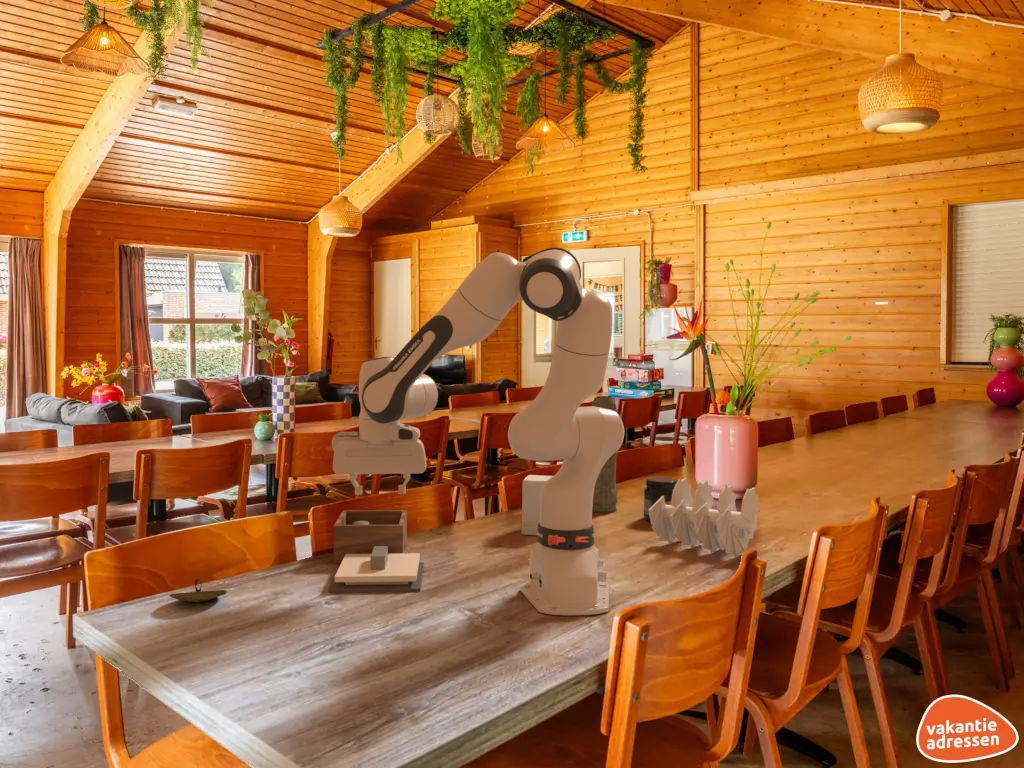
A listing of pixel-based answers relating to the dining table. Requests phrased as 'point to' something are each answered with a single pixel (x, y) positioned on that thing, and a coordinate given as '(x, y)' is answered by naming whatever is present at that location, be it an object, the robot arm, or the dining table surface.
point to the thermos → (606, 470)
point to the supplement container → (657, 492)
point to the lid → (198, 594)
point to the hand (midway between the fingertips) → (380, 493)
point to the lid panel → (375, 577)
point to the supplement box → (531, 503)
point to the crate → (369, 532)
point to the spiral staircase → (706, 518)
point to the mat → (380, 585)
